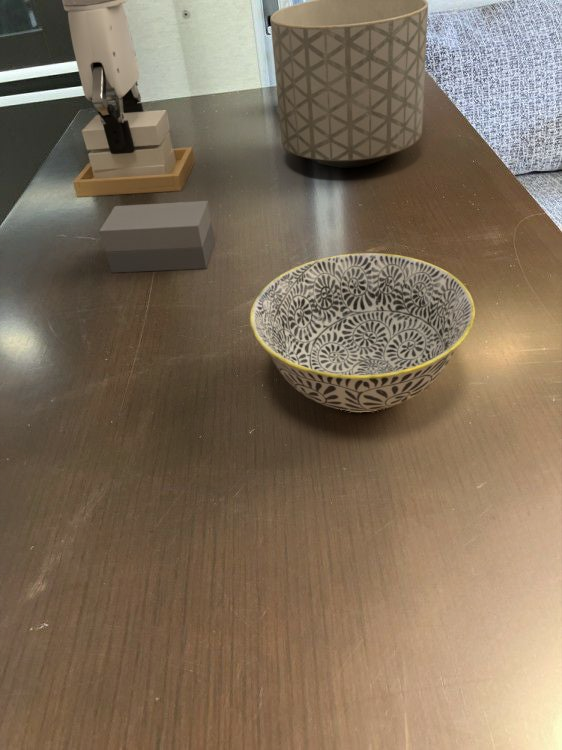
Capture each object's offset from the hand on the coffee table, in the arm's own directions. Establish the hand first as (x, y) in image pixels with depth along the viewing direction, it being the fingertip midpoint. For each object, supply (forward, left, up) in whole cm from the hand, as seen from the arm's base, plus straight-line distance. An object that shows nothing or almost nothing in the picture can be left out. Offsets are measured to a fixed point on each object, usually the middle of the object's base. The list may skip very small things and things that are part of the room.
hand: (129, 141), depth 85 cm
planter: (+30, +3, -5) cm, 31 cm away
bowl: (+30, -46, -5) cm, 55 cm away
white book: (0, 0, 0) cm, 0 cm away
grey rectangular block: (+9, -24, -5) cm, 26 cm away
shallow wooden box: (0, 0, -5) cm, 5 cm away
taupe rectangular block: (0, 0, -5) cm, 5 cm away
